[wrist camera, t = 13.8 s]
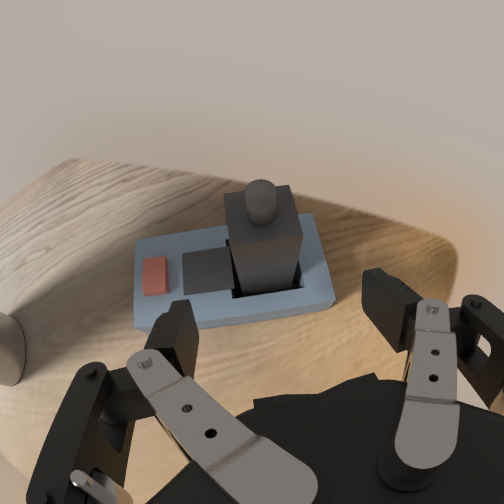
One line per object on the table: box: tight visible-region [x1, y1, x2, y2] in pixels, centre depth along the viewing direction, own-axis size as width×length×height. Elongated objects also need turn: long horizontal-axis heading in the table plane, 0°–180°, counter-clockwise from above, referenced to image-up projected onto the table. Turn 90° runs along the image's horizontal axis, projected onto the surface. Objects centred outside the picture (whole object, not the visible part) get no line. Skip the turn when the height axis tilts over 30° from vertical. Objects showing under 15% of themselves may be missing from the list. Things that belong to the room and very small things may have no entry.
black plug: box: [224, 179, 303, 297], centre depth 19 cm, size 4×4×12 cm
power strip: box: [133, 213, 336, 334], centre depth 23 cm, size 16×8×4 cm, turn 98°
